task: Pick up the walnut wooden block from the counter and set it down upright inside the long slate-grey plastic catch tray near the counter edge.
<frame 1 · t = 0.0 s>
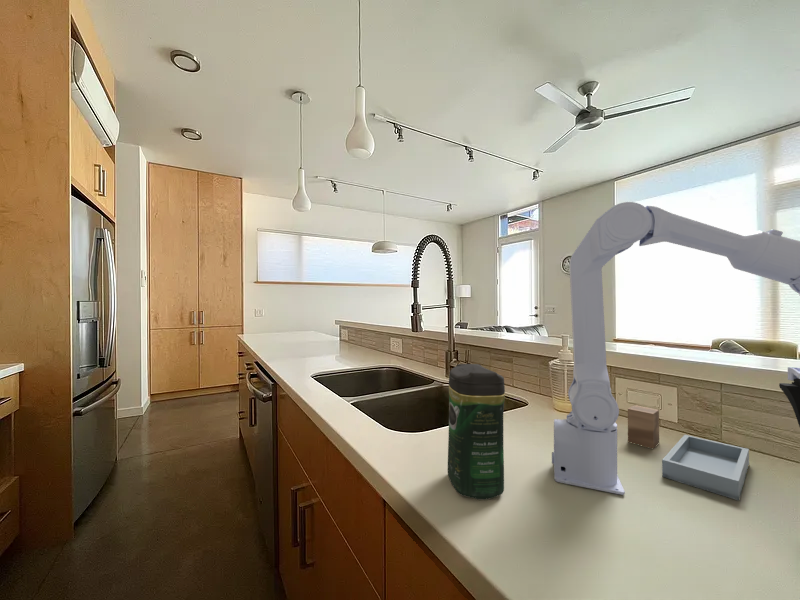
walnut block: (643, 442, 70), on the counter
catch tray: (707, 470, 58), on the counter
coffee jar: (474, 486, 52), on the counter
pill bottle: (601, 430, 78), on the counter
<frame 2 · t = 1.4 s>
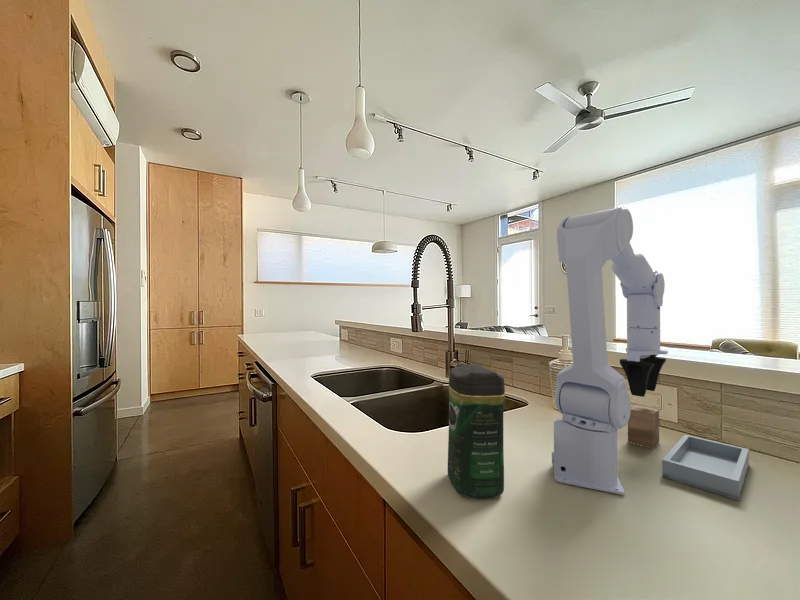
hand: (643, 392, 71), 10 cm above the counter, tool pointing down, fingers open, 7 cm apart
nothing on the counter moved.
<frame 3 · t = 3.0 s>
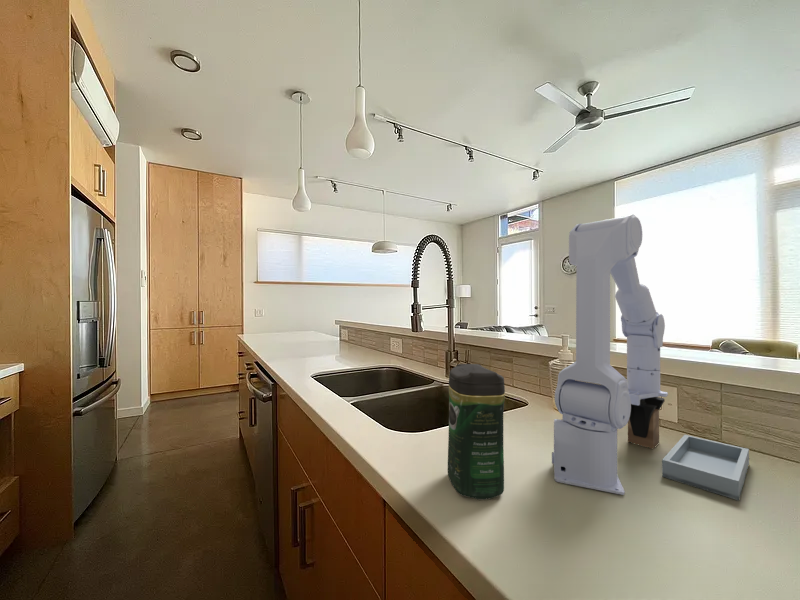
hand: (643, 433, 70), 2 cm above the counter, tool pointing down, fingers closed on walnut block, 4 cm apart
walnut block: (643, 442, 70), on the counter, touching gripper
everything else where it was.
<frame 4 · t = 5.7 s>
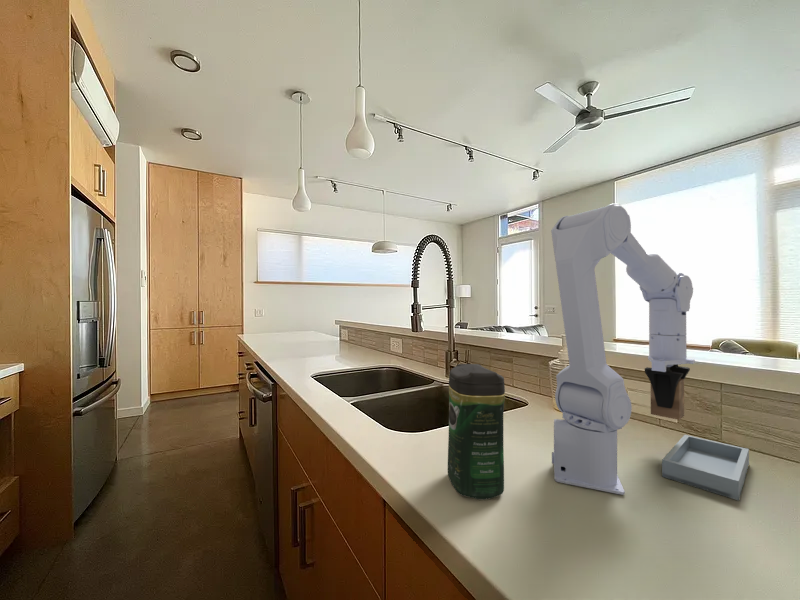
hand: (667, 404, 65), 9 cm above the counter, tool pointing down, fingers closed on walnut block, 4 cm apart
walnut block: (667, 414, 65), point 7 cm above the counter, touching gripper
everything else where it was.
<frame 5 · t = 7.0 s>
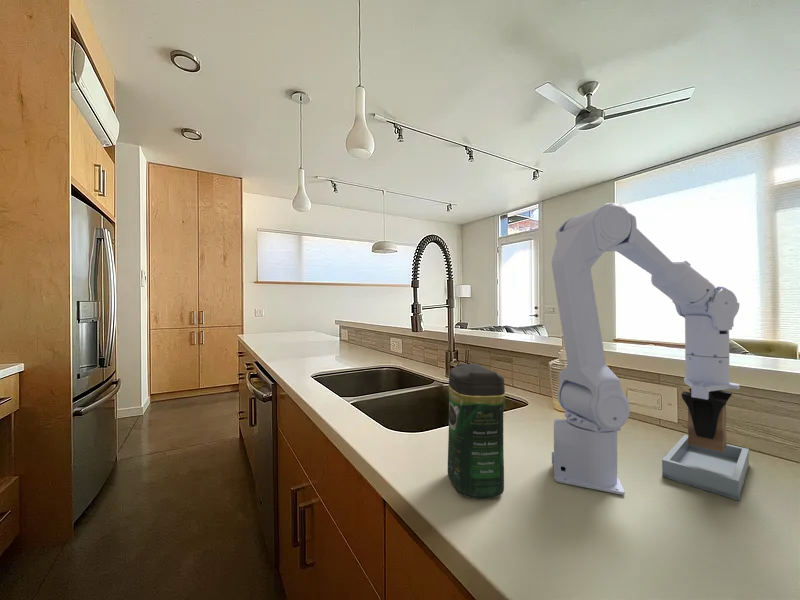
hand: (707, 433, 58), 6 cm above the counter, tool pointing down, fingers closed on walnut block, 4 cm apart
walnut block: (707, 444, 58), point 4 cm above the counter, touching gripper
everything else where it was.
when the fingers open (4 cm above the counter, at t = 8.4 s): walnut block drops 1 cm, resting on catch tray.
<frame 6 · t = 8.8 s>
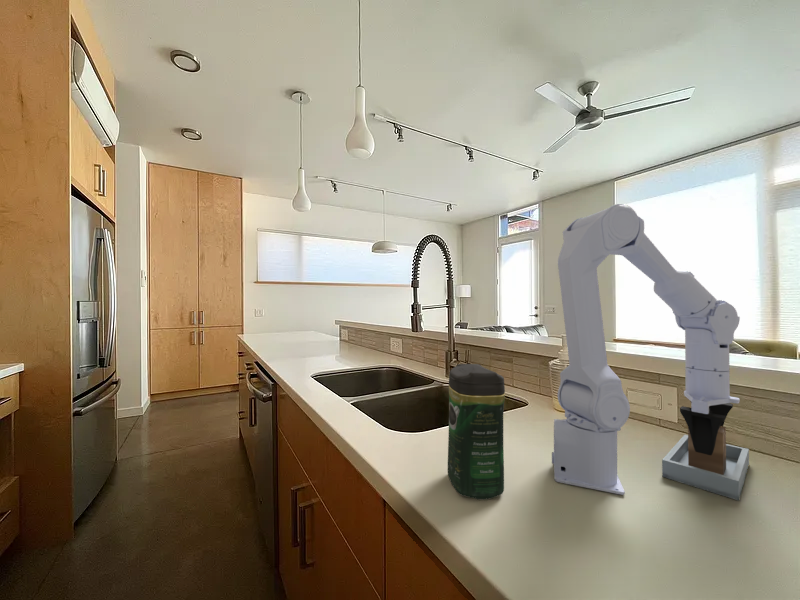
hand: (707, 447, 58), 4 cm above the counter, tool pointing down, fingers open, 7 cm apart
walnut block: (707, 466, 58), point 1 cm above the counter, touching catch tray
everything else where it was.
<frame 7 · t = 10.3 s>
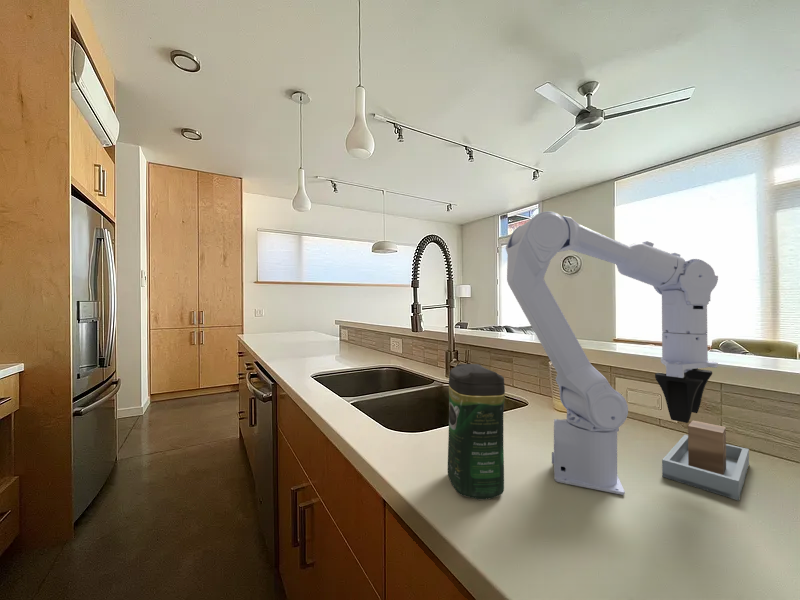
hand: (684, 416, 55), 10 cm above the counter, tool pointing down, fingers open, 7 cm apart
nothing on the counter moved.
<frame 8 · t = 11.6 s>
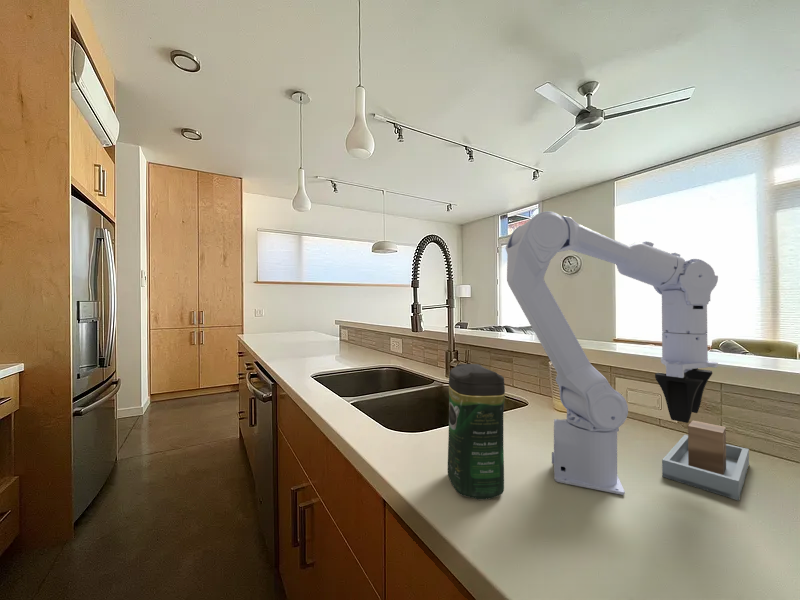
hand: (684, 416, 55), 10 cm above the counter, tool pointing down, fingers open, 7 cm apart
nothing on the counter moved.
at the end: walnut block inside the target area on the catch tray (0.0 cm from its centre), point 0.6 cm above the catch tray's base; walnut block tilted 0°; the gripper is holding nothing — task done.
